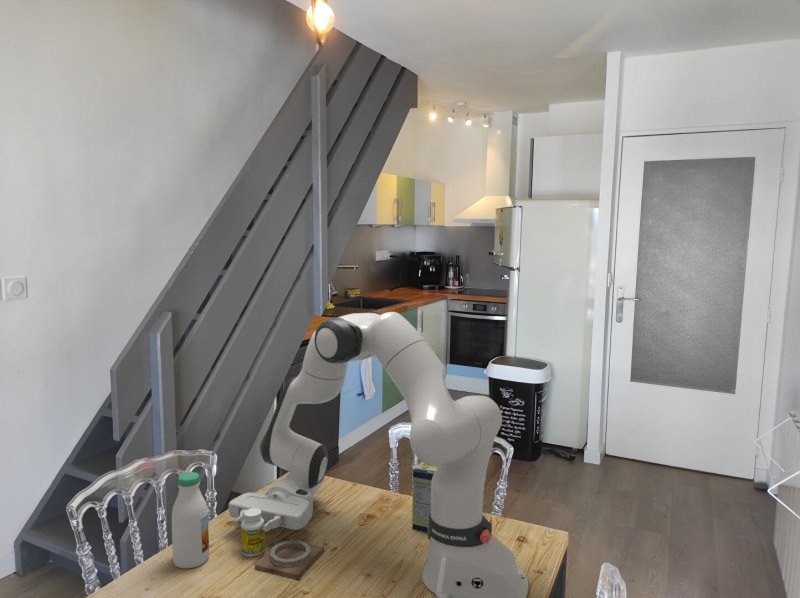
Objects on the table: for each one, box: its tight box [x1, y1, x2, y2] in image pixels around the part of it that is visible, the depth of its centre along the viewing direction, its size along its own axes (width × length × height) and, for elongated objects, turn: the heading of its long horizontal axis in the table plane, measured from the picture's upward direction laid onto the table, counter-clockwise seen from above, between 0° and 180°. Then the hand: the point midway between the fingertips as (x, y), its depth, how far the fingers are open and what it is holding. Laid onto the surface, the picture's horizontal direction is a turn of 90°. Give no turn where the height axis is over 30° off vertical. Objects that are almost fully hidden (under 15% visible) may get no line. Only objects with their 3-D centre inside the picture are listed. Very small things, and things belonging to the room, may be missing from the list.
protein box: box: [411, 461, 438, 533], centre depth 148 cm, size 10×16×16 cm
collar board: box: [254, 537, 325, 580], centre depth 130 cm, size 11×12×2 cm
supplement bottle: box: [240, 508, 266, 557], centre depth 132 cm, size 5×5×10 cm
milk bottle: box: [171, 471, 210, 570], centre depth 128 cm, size 8×8×20 cm
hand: (250, 526), depth 131 cm, fingers closed on supplement bottle, 5 cm apart
